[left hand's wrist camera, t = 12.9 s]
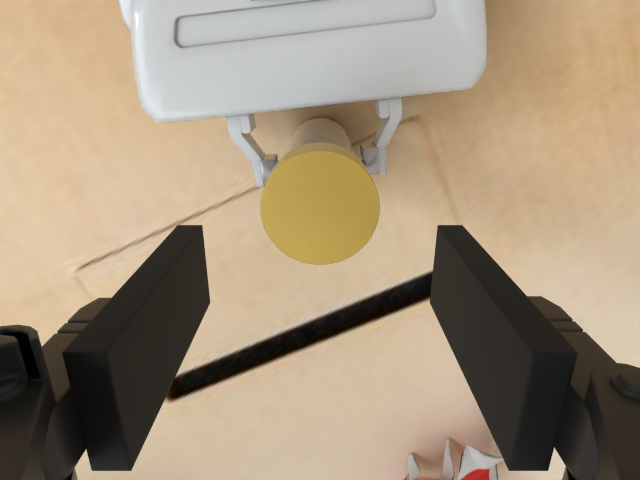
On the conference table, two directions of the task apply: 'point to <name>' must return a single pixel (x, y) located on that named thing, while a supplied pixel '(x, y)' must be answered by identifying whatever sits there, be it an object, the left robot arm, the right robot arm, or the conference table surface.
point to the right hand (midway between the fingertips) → (321, 178)
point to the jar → (320, 134)
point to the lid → (319, 204)
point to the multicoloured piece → (461, 466)
